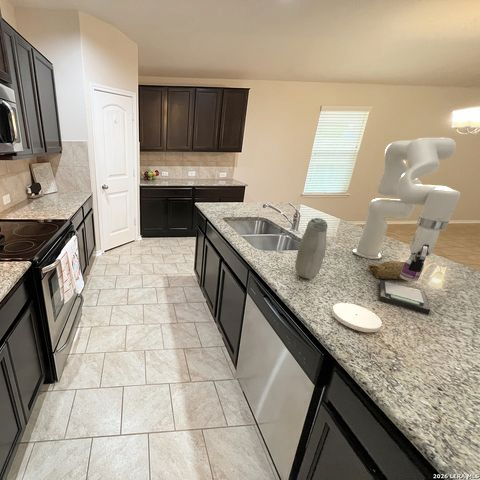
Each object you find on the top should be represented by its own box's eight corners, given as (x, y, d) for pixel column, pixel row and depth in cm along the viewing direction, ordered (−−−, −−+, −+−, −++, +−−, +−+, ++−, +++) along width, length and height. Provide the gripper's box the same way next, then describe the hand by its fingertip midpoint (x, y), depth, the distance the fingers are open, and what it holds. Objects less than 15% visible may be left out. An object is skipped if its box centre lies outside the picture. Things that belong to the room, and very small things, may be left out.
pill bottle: (416, 283, 96) (426, 260, 92) (398, 278, 100) (407, 256, 96) (418, 278, 99) (428, 256, 96) (400, 273, 103) (409, 252, 99)
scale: (378, 284, 112) (380, 278, 111) (422, 295, 103) (424, 289, 102) (379, 300, 100) (381, 294, 99) (428, 315, 92) (431, 308, 91)
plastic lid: (366, 311, 94) (368, 305, 93) (389, 338, 81) (391, 331, 80) (324, 306, 96) (326, 300, 96) (340, 331, 84) (342, 324, 83)
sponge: (381, 284, 114) (431, 279, 110) (380, 268, 112) (431, 262, 109) (362, 275, 126) (407, 270, 123) (361, 260, 125) (406, 254, 122)
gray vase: (320, 282, 112) (337, 223, 102) (296, 280, 114) (310, 221, 104) (313, 272, 121) (327, 216, 111) (290, 270, 123) (302, 215, 113)
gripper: (414, 216, 99) (398, 258, 106) (420, 227, 87) (401, 273, 94) (442, 220, 95) (423, 263, 102) (452, 232, 83) (430, 280, 89)
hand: (413, 267), depth 98 cm, fingers closed on pill bottle, 5 cm apart
